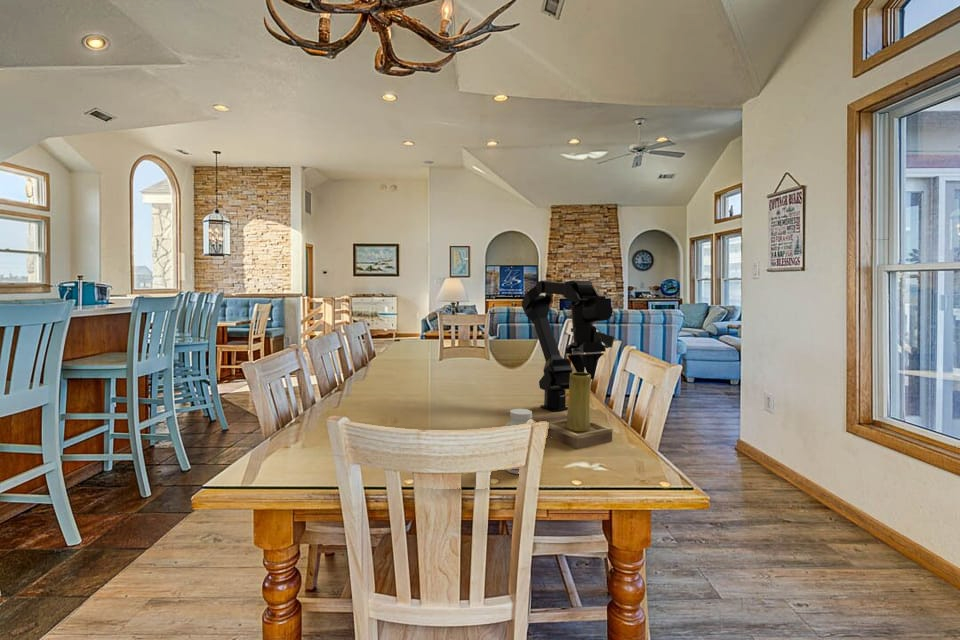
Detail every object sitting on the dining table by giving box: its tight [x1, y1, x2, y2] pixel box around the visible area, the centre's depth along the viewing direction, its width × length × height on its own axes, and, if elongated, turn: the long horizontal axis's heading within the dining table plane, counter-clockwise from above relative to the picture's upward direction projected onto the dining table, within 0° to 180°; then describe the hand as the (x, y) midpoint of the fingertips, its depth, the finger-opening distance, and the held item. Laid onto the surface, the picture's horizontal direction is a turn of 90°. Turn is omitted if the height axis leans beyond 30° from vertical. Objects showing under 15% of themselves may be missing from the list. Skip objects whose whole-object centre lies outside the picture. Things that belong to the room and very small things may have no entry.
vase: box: [566, 371, 592, 432], centre depth 134 cm, size 6×6×14 cm
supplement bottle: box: [505, 408, 533, 475], centre depth 112 cm, size 7×7×13 cm
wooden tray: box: [531, 412, 613, 450], centre depth 138 cm, size 20×12×3 cm, turn 32°
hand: (586, 378), depth 149 cm, fingers open, 9 cm apart
